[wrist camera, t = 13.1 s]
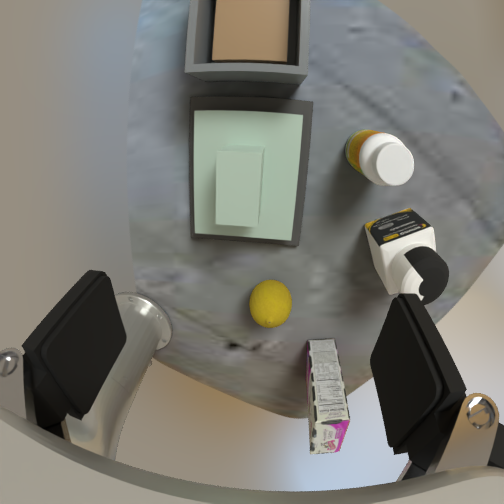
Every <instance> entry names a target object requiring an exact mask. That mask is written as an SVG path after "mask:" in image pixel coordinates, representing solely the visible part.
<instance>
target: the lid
mask: <svg viewBox="0 0 504 504" xmlns="http://www.w3.org/2000/svg"><path fill="white" fill-rule="evenodd" d="M302 123H303V115H297V114H286V113H273V112H257V111H225V110H205V111H195V112H194V217H195V233H201V234H214V235H228V236H241V237H253V238H266V239H278V240H290V241H291V237H292V229H293V220H294V210H295V201H296V191H297V181H298V170H299V159H300V148H301V136H302Z"/></svg>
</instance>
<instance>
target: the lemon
mask: <svg viewBox="0 0 504 504" xmlns="http://www.w3.org/2000/svg"><path fill="white" fill-rule="evenodd" d="M249 307H250V312H251V315H252V317H253V319H254V320H255V321H256V322H257V323H258V324H259V325H261V326H263V327H267V328H273V327H277V326H280V325H281V324H283V323H284V322H285V321H286V320H287V318H288V317H289V314H290V311H291V307H292V299H291V295H290V292H289V290H288V289H287V287H286V286H285V285H284V284H283V283H281V282H279V281H276V280H265V281H263V282H261V283H259V284H258V285H257V286H256V287H255V288H254V289H253V291H252V293H251V296H250V302H249Z"/></svg>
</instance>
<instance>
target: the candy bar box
mask: <svg viewBox="0 0 504 504" xmlns="http://www.w3.org/2000/svg"><path fill="white" fill-rule="evenodd" d="M306 388H307V403H308V420H309V439H310V454H320V453H329V452H330V453H334V452H338V451H339V450H340V448H341V445H342V442H343V439H344V436H345V434H346V431H347V428H348V425H349V422H350V416H349V410H348V404H347V398H346V393H345V387H344V382H343V377H342V372H341V367H340V362H339V356H338V352H337V347H336V342H335V339H332V338H331V339H320V340H308V341H307V365H306Z"/></svg>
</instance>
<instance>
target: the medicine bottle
mask: <svg viewBox="0 0 504 504" xmlns="http://www.w3.org/2000/svg"><path fill="white" fill-rule="evenodd" d="M365 230H366V234H367V238H368V242H369V246H370V250H371V254H372V259H373V263H374V267H375V269H376V271H377V273H378V274H379V276H380V278H381V280H382V282H383V284H384V286H385V288H386V290H387V292H388V294H390V295H392V294H395V293H397V292H400V293H415V294H417V295H418V296H419V298H420V300H421V302H422V303H423V305H426V304H429V303H431V302H432V301H434V300H435V299H437V298H438V297H439V296H440V295H441V294H442V292H443V291H444V289H445V287H446V285H447V282H448V278H449V269H448V266H447V264H446V263H445V262H444V260H443V259H442V258H441V257H440V256H439V255H438V254H437V253H436V246H435V236H434V229H433V227H432V226H431V225H430V224H428V223H427V222H426V221H425V220H424V219H423V218H421V217H420V216H419V215H418V214H417V213H416V212H414V211H413V210H412V209H411V208H408V209H405V210H402V211H399V212H396V213H394V214H391V215H388V216H385V217H382V218H379V219H377V220H374V221H371V222H368V223H366V224H365Z"/></svg>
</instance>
